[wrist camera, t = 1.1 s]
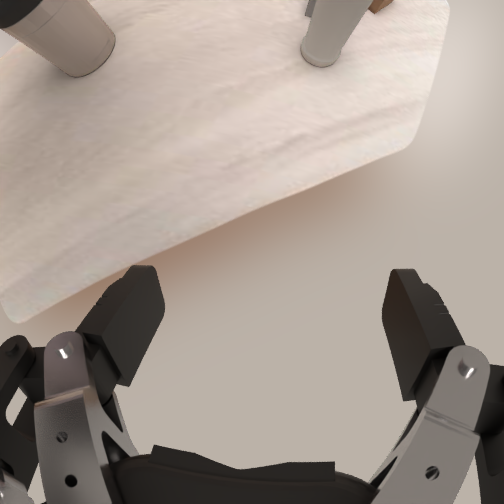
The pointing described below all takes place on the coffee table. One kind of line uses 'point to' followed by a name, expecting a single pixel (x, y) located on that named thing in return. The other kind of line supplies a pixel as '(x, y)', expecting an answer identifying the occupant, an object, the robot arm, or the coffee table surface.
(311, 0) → the slate grey cube
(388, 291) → the robot arm
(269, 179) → the coffee table surface
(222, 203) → the coffee table surface
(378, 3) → the walnut cube
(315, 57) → the bottle
